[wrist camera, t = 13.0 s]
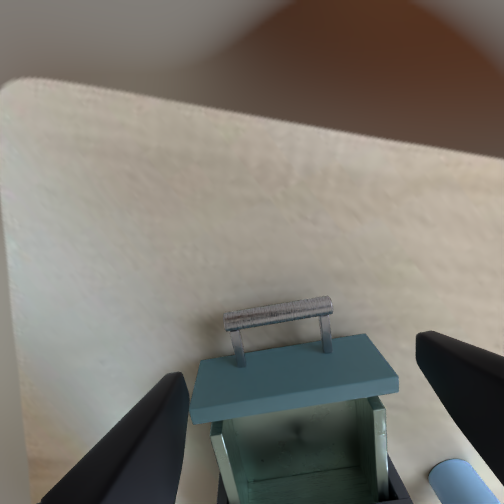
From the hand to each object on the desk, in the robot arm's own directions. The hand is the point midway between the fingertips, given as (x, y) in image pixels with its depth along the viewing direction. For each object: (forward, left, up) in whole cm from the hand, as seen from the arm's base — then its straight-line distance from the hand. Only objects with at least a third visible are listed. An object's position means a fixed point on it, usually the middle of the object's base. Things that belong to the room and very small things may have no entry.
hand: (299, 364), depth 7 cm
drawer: (0, -11, -10) cm, 15 cm away
